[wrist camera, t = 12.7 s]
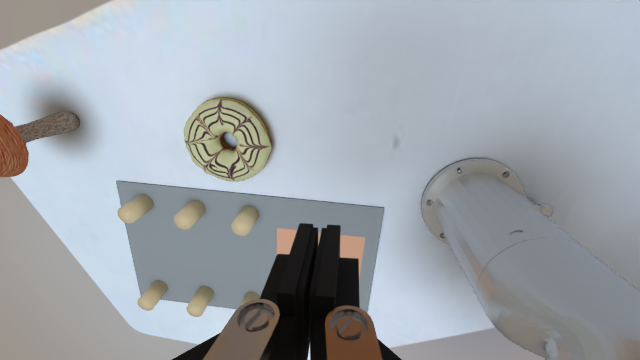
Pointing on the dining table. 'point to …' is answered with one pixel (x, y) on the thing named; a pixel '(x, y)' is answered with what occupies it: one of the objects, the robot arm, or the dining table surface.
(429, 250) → the dining table surface
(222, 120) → the decorated donut
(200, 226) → the spacer board
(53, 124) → the mushroom
